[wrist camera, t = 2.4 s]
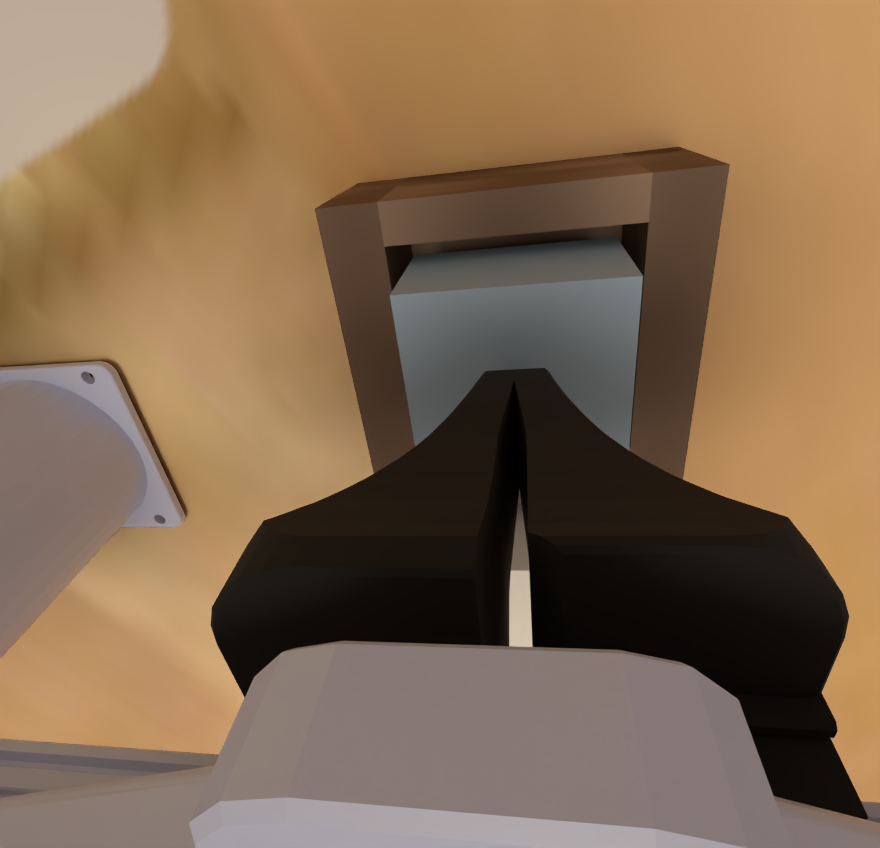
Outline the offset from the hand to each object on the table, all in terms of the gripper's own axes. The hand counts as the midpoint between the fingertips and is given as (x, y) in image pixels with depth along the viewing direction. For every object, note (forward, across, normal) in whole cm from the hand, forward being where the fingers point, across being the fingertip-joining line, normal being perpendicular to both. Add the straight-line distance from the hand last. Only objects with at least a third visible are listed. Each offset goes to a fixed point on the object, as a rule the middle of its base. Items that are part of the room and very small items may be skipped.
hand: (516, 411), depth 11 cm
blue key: (+4, 0, 0) cm, 4 cm away
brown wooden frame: (+7, 0, +4) cm, 8 cm away
